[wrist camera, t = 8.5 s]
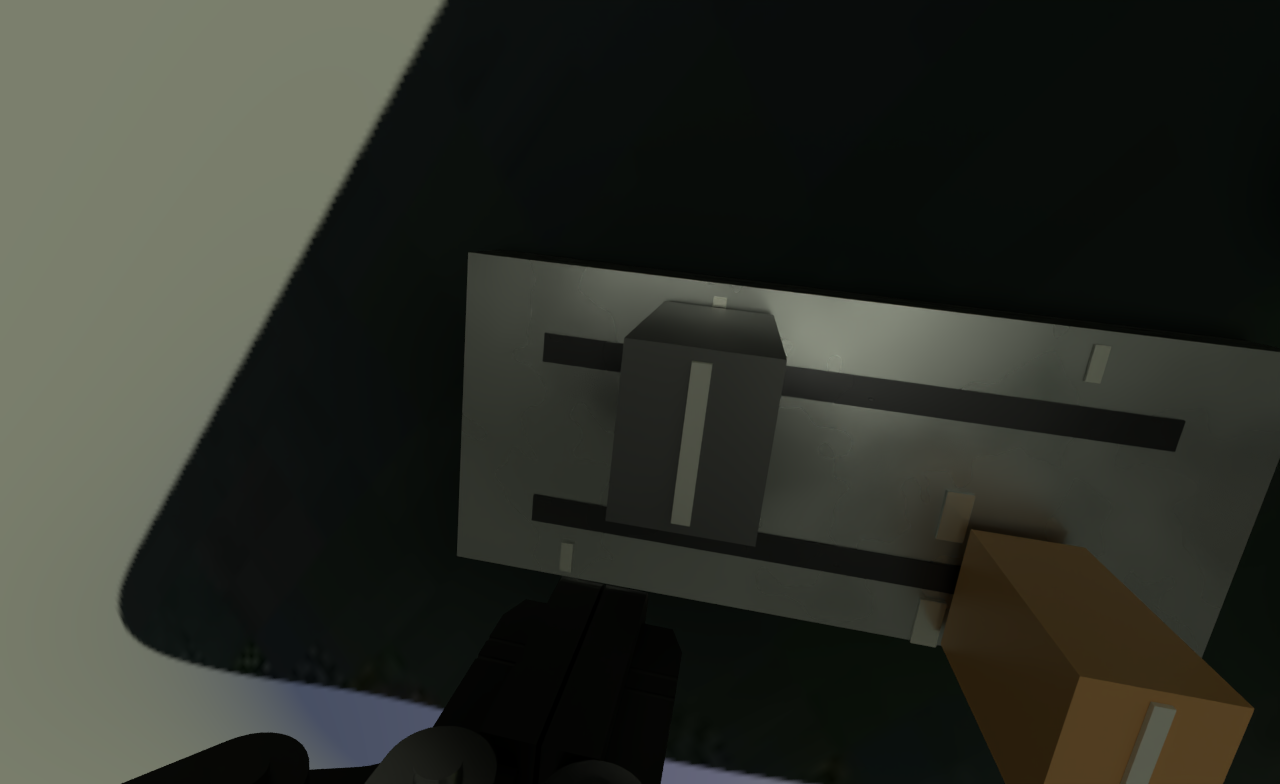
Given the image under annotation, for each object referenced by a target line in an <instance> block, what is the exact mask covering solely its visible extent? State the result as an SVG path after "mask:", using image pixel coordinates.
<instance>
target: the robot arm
mask: <svg viewBox="0 0 1280 784" xmlns="http://www.w3.org/2000/svg"><path fill="white" fill-rule="evenodd" d="M647 603H648V593H646V592H641V591H636V590H631V589H626V588H621V587H616V586H611V585H606V587H605V586H604V584H600V583H595V582H590V581H585V580H580V579H575V578H570V577H565V576H563V577H562V578H561V579H560V581H559V582H558V584H557V586H556V588H555V590H554V592H553V594H552V596H551V597H550V599H549V601H548V603H547V604H546V603H541V602H536V601H531V600H527V599H526V600H524V601H523V602H522V603H520V604H519V605H517V606H516V607H514V608H513V609H511V610H510V611H508V612H507V613H505V614H504V615H503V616H502V618H501V619H500V621H499V622H498V624H497V626H496V627H495V629H494V630H493V632H492V634H491V635H490V638H489V641H486V643H485V645H484V646H483V648H482V649H481V651H480V653H479V655H478V658H477V659H475V661H474V662H473V664H472V665H471V667H470V669H469V670H468V672H467V673H466V675H465V677H464V678H463V680H462V681H461V683H460V685H459V686H458V688H457V689H456V691H455V693H454V694H453V696H452V697H451V699H450V701H449V702H448V704H447V705H446V707H445V709H444V710H443V712H442V713H441V715H440V717H439V718H438V720H437V721H436V723H435V725H434V726H433V727H432V728H428V729H425V730H421V731H418V732H416V733H414V734H412V735H410V736H408V737H407V738H405V739H404V740H402V741H401V742H399V743H398V744H397V745H396V746H395V747H394V748H393V749H392V750H391V751H390V752H389V753H388V754H387V756H386V757H385V758H384V759H383V761H382V762H381V763H379V764H375V765H371V766H363V767H351V768H335V769H334V768H333V769H315V770H309V757H308V754H307V751H306V750H305V748H304V747H303V745H302V744H301V743H300V742H298V741H297V740H296V739H294V738H292V737H290V736H287V735H283V734H279V733H254V734H249V735H245V736H241V737H237V738H234V739H231V740H229V741H226V742H224V743H221V744H218V745H216V746H213V747H211V748H208V749H206V750H203V751H201V752H199V753H196V754H194V755H191V756H189V757H186V758H184V759H181V760H179V761H176V762H174V763H171V764H169V765H166V766H164V767H161V768H159V769H156V770H154V771H151V772H149V773H147V774H144V775H142V776H139V777H137V778H134V779H132V780H129V781H127V782H125V783H122V784H661V778H662V772H663V766H664V760H665V754H666V748H667V742H668V736H669V730H670V724H671V718H672V712H673V705H674V699H675V693H676V686H677V680H678V674H679V667H680V661H681V655H682V652H681V649H680V647H679V644H678V642H677V639H676V637H675V634H674V632H673V630H672V629H667V628H662V627H657V626H652V625H648V624H645V618H646V611H647Z"/></svg>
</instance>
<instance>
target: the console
mask: <svg viewBox="0 0 1280 784" xmlns="http://www.w3.org/2000/svg"><path fill="white" fill-rule="evenodd" d="M664 301H668V302H676V303H684V304H692V305H700V306H707V307H715V308H723V309H731V310H739V311H746V312H754V313H762V314H770V315H774V318H775V321H776V324H777V328H778V331H779V334H780V338H781V341H782V344H783V348H784V351H785V354H786V358H787V364H786V370H785V375H784V381H783V387H782V393H781V399H780V405H779V410H778V416H777V422H776V428H775V434H774V440H773V446H772V451H771V457H770V463H769V469H768V475H767V481H766V487H765V492H764V498H763V504H762V510H761V516H760V522H759V528H758V533H757V539H756V545H755V547H754V546H748V545H742V544H736V543H731V542H725V541H719V540H713V539H707V538H702V537H696V536H690V535H684V534H679V533H673V532H667V531H661V530H655V529H650V528H644V527H638V526H632V525H626V524H621V523H615V522H609V521H605V519H606V510H607V500H608V490H609V480H610V471H611V461H612V451H613V441H614V432H615V422H616V412H617V402H618V393H619V383H620V373H621V363H622V354H623V344H624V337H626V336H627V335H628V334H629V333H630V332H631V331H632V330H633V329H634V328H636V327H637V326H638V325H639V324H640V323H641V322H642V321H643V320H644V319H646V318H647V317H648V316H649V315H650V314H651V313H652V312H653V311H654V310H656V309H657V308H658V307H659V306H660V305H661V304H662V303H663V302H664ZM1279 458H1280V348H1277V347H1273V346H1268V345H1264V344H1259V343H1255V342H1251V341H1246V340H1238V339H1230V338H1222V337H1214V336H1206V335H1197V334H1189V333H1181V332H1173V331H1164V330H1156V329H1148V328H1140V327H1132V326H1123V325H1115V324H1107V323H1099V322H1091V321H1082V320H1074V319H1066V318H1058V317H1049V316H1041V315H1033V314H1025V313H1017V312H1008V311H1000V310H992V309H984V308H976V307H967V306H959V305H951V304H943V303H934V302H926V301H918V300H910V299H902V298H893V297H885V296H877V295H869V294H861V293H852V292H844V291H836V290H828V289H819V288H811V287H803V286H795V285H787V284H778V283H770V282H762V281H754V280H746V279H737V278H729V277H721V276H713V275H704V274H696V273H688V272H680V271H672V270H663V269H655V268H647V267H639V266H631V265H622V264H614V263H606V262H598V261H589V260H581V259H573V258H565V257H557V256H548V255H540V254H532V253H524V252H516V251H507V250H489V251H478V252H468V276H467V303H466V329H465V356H464V382H463V409H462V436H461V462H460V489H459V516H458V542H457V556H460V557H465V558H471V559H476V560H482V561H487V562H492V563H498V564H503V565H509V566H514V567H519V568H525V569H530V570H536V571H541V572H546V573H552V574H557V575H563V576H568V577H573V578H579V579H584V580H590V581H595V582H600V583H606V584H611V585H617V586H622V587H627V588H633V589H638V590H644V591H649V592H654V593H660V594H665V595H670V596H676V597H681V598H687V599H692V600H697V601H703V602H708V603H714V604H719V605H724V606H730V607H735V608H741V609H746V610H751V611H757V612H762V613H768V614H773V615H778V616H784V617H789V618H795V619H800V620H805V621H811V622H816V623H822V624H827V625H832V626H838V627H843V628H849V629H854V630H859V631H865V632H870V633H876V634H881V635H886V636H892V637H897V638H903V639H908V640H909V641H910V643H914V644H920V645H925V646H931V647H936V645H940V646H941V640H942V637H943V633H944V629H945V625H946V621H947V618H948V614H949V610H950V606H951V603H952V599H953V595H954V591H955V588H956V584H957V580H958V576H959V572H960V569H961V565H962V561H963V557H964V554H965V550H966V546H967V542H968V539H969V535H970V531H971V529H973V530H979V531H986V532H992V533H998V534H1004V535H1010V536H1016V537H1022V538H1029V539H1035V540H1041V541H1047V542H1053V543H1059V544H1066V545H1072V546H1078V547H1084V548H1086V549H1087V550H1088V551H1089V552H1090V553H1091V554H1092V555H1093V556H1094V557H1095V558H1096V559H1097V560H1099V561H1100V562H1101V563H1102V564H1103V565H1104V566H1105V567H1106V568H1107V569H1108V570H1109V571H1110V572H1111V573H1112V574H1113V575H1114V576H1115V577H1116V578H1117V579H1119V580H1120V581H1121V582H1122V583H1123V584H1124V585H1125V586H1126V587H1127V588H1128V589H1129V590H1130V591H1131V592H1132V593H1133V594H1134V595H1135V596H1136V597H1137V598H1139V599H1140V600H1141V601H1142V602H1143V603H1144V604H1145V605H1146V606H1147V607H1148V608H1149V609H1150V610H1151V611H1152V612H1153V613H1154V614H1155V615H1156V616H1157V617H1159V618H1160V619H1161V620H1162V621H1163V622H1164V623H1165V624H1166V625H1167V626H1168V627H1169V628H1170V629H1171V630H1172V631H1173V632H1174V633H1175V634H1176V635H1177V636H1179V637H1180V638H1181V639H1182V640H1183V641H1184V642H1185V643H1186V644H1187V645H1188V646H1189V647H1190V648H1191V649H1192V650H1193V651H1194V652H1195V653H1196V654H1197V655H1199V656H1200V657H1201V658H1202V656H1203V653H1204V651H1205V648H1206V646H1207V643H1208V640H1209V638H1210V635H1211V633H1212V630H1213V628H1214V625H1215V622H1216V620H1217V617H1218V615H1219V612H1220V610H1221V607H1222V605H1223V602H1224V599H1225V597H1226V594H1227V592H1228V589H1229V587H1230V584H1231V581H1232V579H1233V576H1234V574H1235V571H1236V569H1237V566H1238V564H1239V561H1240V558H1241V556H1242V553H1243V551H1244V548H1245V546H1246V543H1247V540H1248V538H1249V535H1250V533H1251V530H1252V528H1253V525H1254V523H1255V520H1256V517H1257V515H1258V512H1259V510H1260V507H1261V505H1262V502H1263V499H1264V497H1265V494H1266V492H1267V489H1268V487H1269V484H1270V482H1271V479H1272V476H1273V474H1274V471H1275V469H1276V466H1277V464H1278V461H1279Z"/></svg>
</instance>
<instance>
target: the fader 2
mask: <svg viewBox="0 0 1280 784" xmlns="http://www.w3.org/2000/svg"><path fill="white" fill-rule="evenodd" d="M941 646H942V648H943V650H944V652H945V654H946V656H947V659H948V661H949V663H950V665H951V667H952V669H953V671H954V674H955V676H956V678H957V680H958V682H959V684H960V687H961V689H962V691H963V693H964V695H965V697H966V700H967V702H968V704H969V706H970V708H971V710H972V712H973V715H974V717H975V719H976V721H977V723H978V725H979V728H980V730H981V732H982V734H983V736H984V738H985V740H986V743H987V745H988V747H989V749H990V751H991V753H992V756H993V758H994V760H995V762H996V764H997V766H998V769H999V771H1000V773H1001V775H1002V777H1003V779H1004V781H1005V784H1223V782H1224V780H1225V777H1226V775H1227V773H1228V770H1229V768H1230V765H1231V763H1232V761H1233V758H1234V756H1235V754H1236V751H1237V749H1238V747H1239V744H1240V742H1241V740H1242V737H1243V735H1244V733H1245V730H1246V728H1247V726H1248V723H1249V721H1250V718H1251V716H1252V714H1253V711H1254V708H1253V707H1252V706H1251V705H1250V704H1249V703H1248V702H1247V701H1246V700H1245V699H1244V698H1243V697H1242V696H1241V695H1240V694H1239V693H1237V692H1236V691H1235V690H1234V689H1233V688H1232V687H1231V686H1230V685H1229V684H1228V683H1227V682H1226V681H1225V680H1224V679H1223V678H1222V677H1221V676H1220V675H1219V674H1217V673H1216V672H1215V671H1214V670H1213V669H1212V668H1211V667H1210V666H1209V665H1208V664H1207V663H1206V662H1205V661H1204V660H1203V659H1202V658H1201V657H1200V656H1199V655H1197V654H1196V653H1195V652H1194V651H1193V650H1192V649H1191V648H1190V647H1189V646H1188V645H1187V644H1186V643H1185V642H1184V641H1183V640H1182V639H1181V638H1180V637H1179V636H1177V635H1176V634H1175V633H1174V632H1173V631H1172V630H1171V629H1170V628H1169V627H1168V626H1167V625H1166V624H1165V623H1164V622H1163V621H1162V620H1161V619H1160V618H1159V617H1157V616H1156V615H1155V614H1154V613H1153V612H1152V611H1151V610H1150V609H1149V608H1148V607H1147V606H1146V605H1145V604H1144V603H1143V602H1142V601H1141V600H1140V599H1139V598H1137V597H1136V596H1135V595H1134V594H1133V593H1132V592H1131V591H1130V590H1129V589H1128V588H1127V587H1126V586H1125V585H1124V584H1123V583H1122V582H1121V581H1120V580H1119V579H1117V578H1116V577H1115V576H1114V575H1113V574H1112V573H1111V572H1110V571H1109V570H1108V569H1107V568H1106V567H1105V566H1104V565H1103V564H1102V563H1101V562H1100V561H1099V560H1097V559H1096V558H1095V557H1094V556H1093V555H1092V554H1091V553H1090V552H1089V551H1088V550H1087V549H1086V548H1084V547H1078V546H1072V545H1066V544H1059V543H1053V542H1047V541H1041V540H1035V539H1029V538H1022V537H1016V536H1010V535H1004V534H998V533H992V532H986V531H979V530H973V529H971V531H970V535H969V539H968V542H967V546H966V550H965V554H964V557H963V561H962V565H961V569H960V572H959V576H958V580H957V584H956V588H955V591H954V595H953V599H952V603H951V606H950V610H949V614H948V618H947V621H946V625H945V629H944V633H943V637H942V640H941Z"/></svg>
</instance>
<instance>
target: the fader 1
mask: <svg viewBox="0 0 1280 784" xmlns="http://www.w3.org/2000/svg"><path fill="white" fill-rule="evenodd" d="M786 364H787V358H786V354H785V351H784V348H783V344H782V341H781V338H780V334H779V331H778V328H777V324H776V321H775V318H774V315H770V314H762V313H754V312H746V311H739V310H731V309H723V308H715V307H707V306H700V305H692V304H684V303H676V302H668V301H664V302H663V303H662V304H661V305H660V306H659V307H658V308H657V309H656V310H654V311H653V312H652V313H651V314H650V315H649V316H648V317H647V318H646V319H644V320H643V321H642V322H641V323H640V324H639V325H638V326H637V327H636V328H634V329H633V330H632V331H631V332H630V333H629V334H628V335H627V336H626V337H624V344H623V354H622V363H621V373H620V383H619V393H618V402H617V412H616V422H615V432H614V441H613V451H612V461H611V471H610V480H609V490H608V500H607V510H606V519H605V521H609V522H615V523H621V524H626V525H632V526H638V527H644V528H650V529H655V530H661V531H667V532H673V533H679V534H684V535H690V536H696V537H702V538H707V539H713V540H719V541H725V542H731V543H736V544H742V545H748V546H754V547H755V545H756V539H757V533H758V528H759V522H760V516H761V510H762V504H763V498H764V492H765V487H766V481H767V475H768V469H769V463H770V457H771V451H772V446H773V440H774V434H775V428H776V422H777V416H778V410H779V405H780V399H781V393H782V387H783V381H784V375H785V370H786Z"/></svg>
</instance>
